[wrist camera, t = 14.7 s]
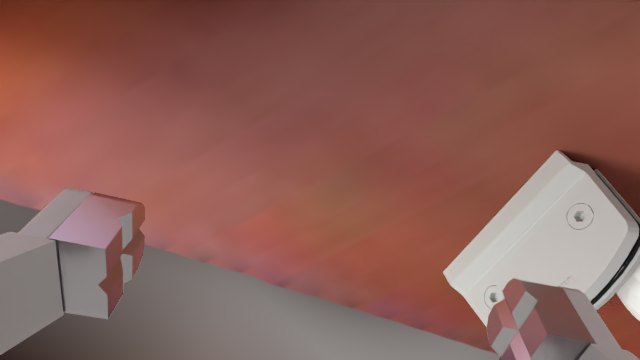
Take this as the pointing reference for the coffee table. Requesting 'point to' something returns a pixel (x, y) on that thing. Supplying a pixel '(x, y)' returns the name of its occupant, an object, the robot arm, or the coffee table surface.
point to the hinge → (552, 239)
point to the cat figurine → (631, 293)
